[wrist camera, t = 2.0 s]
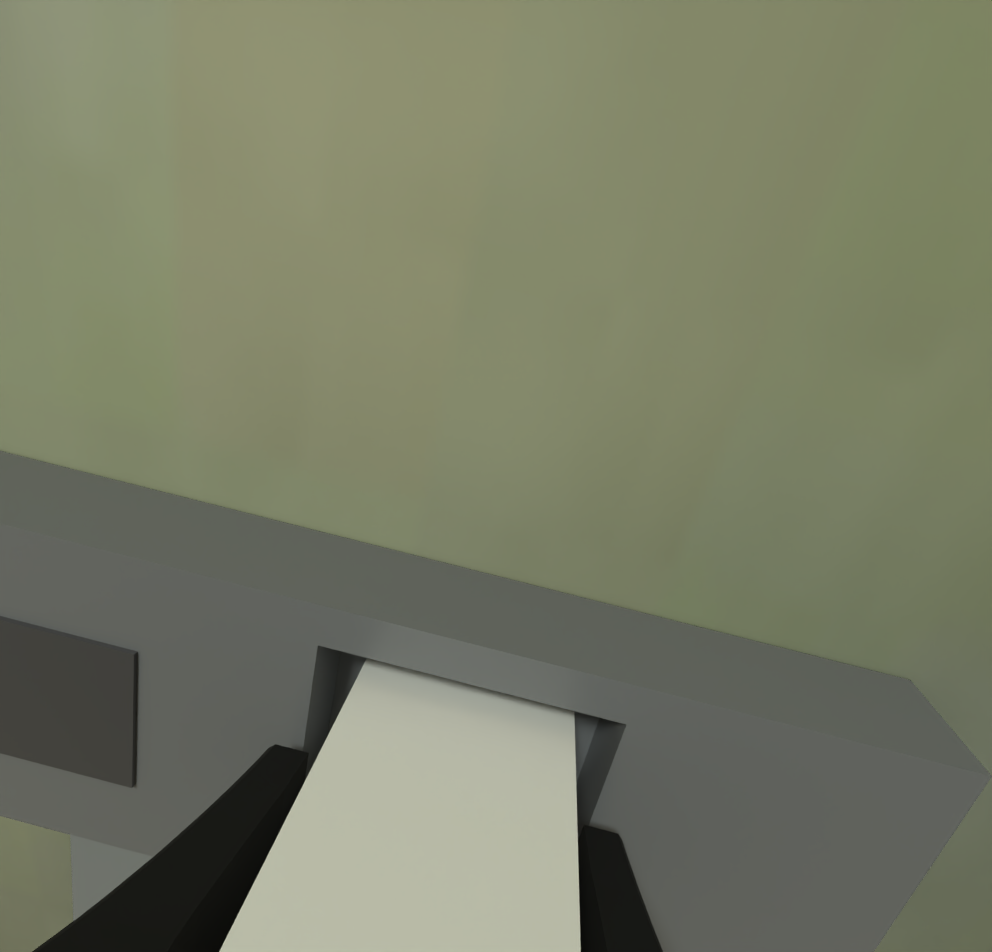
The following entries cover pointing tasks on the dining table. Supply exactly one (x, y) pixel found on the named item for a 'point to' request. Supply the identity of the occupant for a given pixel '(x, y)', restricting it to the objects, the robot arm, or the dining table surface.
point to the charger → (426, 828)
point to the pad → (99, 871)
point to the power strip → (465, 658)
